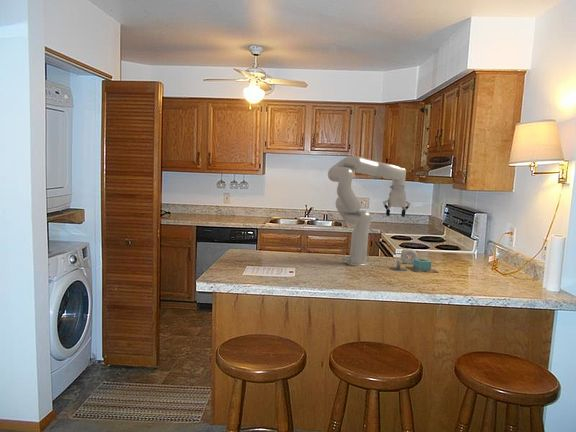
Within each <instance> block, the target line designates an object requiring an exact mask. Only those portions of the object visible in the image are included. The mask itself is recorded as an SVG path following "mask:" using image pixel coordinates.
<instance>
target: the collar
mask: <svg viewBox="0 0 576 432" xmlns="http://www.w3.org/2000/svg"><path fill="white" fill-rule="evenodd" d="M420 259H421V258H417V259H414V260H413V264H412V266H413V268H415V269H417V270H425V271H431V269H432V261H431V260H428V259H425V258H424V259H425V261H419V260H420Z"/></svg>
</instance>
